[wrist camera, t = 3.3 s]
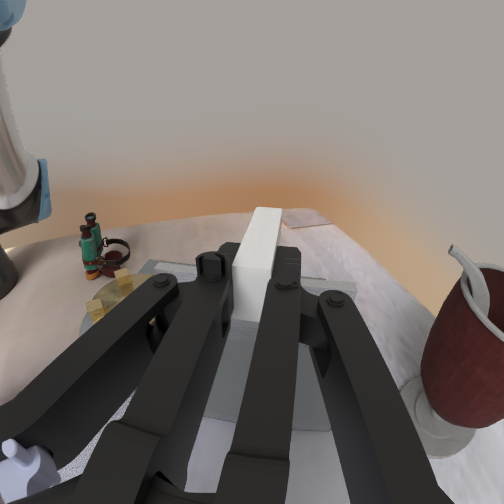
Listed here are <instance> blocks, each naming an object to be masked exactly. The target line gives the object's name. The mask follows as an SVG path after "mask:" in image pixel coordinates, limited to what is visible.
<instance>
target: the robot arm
mask: <svg viewBox="0 0 504 504" xmlns="http://www.w3.org/2000/svg"><path fill="white" fill-rule="evenodd" d="M25 4H26V0H0V235H1V234H3V233H6V232H9V231H12V230H15V229H18V228H20V227H23V226H26V225H29V224H32V223H38V222H39V221H41V220H43V219H46V218H48V217H49V216H50V215H51V211H52V209H51V200H50V192H49V182H48V171H47V161H46V159H37V160H36V158H35V156H34V155H33V154H32V153H31V152H29V151H27V150H24V148H23V145H22V141H21V138H20V135H19V132H18V129H17V125H16V122H15V118H14V115H13V111H12V107H11V103H10V98H9V94H8V90H7V85H6V80H5V75H4V69H3V62H2V55H1V49H2V48H3V46H4V45H5V44H6V42H7V41H8V39H9V38H10V36H11V32H12V26H13V25H15V24H16V23H17V22H18V21H19V20H20V18H21V17H22V14H23V12H24V8H25ZM281 222H282V209H279V208H265V207H257V208H256V209H255V212H254V214H253V216H252V219H251V221H250V224H249V226H248V228H247V231H246V233H245V235H244V238H243V240H242V242H241V243H233V242H226V243H225V244H223V245H222V246H220V248H219V250H218V251H217V252H216V251H210V252H205V253H202V254H200V255H198V256H197V257H196V268H197V277H196V279H195V280H194V281H190V282H179V283H178V281H177V278H176V276H175V275H173V274H170V273H159V274H156V275H153V276H151V277H150V278H148V279H147V280H146V281H145V282H144V283H142V284H141V285H140V286H139V287H137V288H136V289H135V290H134V291H133V292H131V293H130V294H129V295H128V296H127V297H126V298H124V299H123V300H122V301H121V302H120V303H118V304H117V305H116V306H115V307H114V308H113V309H111V310H110V311H109V312H108V313H107V314H106V315H104V316H103V317H102V318H101V319H100V320H99V321H97V322H96V323H95V324H94V325H93V326H92V327H91V328H89V329H88V330H87V331H86V332H85V333H84V334H83V335H81V336H80V337H79V338H78V339H77V340H76V341H75V342H74V343H73V344H71V345H70V346H69V347H68V348H67V349H66V350H65V351H64V352H63V353H62V354H60V355H59V356H58V357H57V358H56V359H55V360H54V361H53V362H52V363H51V364H50V365H49V366H47V367H46V368H45V369H44V370H43V371H42V372H41V373H40V374H39V375H38V376H37V377H36V378H35V379H34V380H33V381H32V382H31V383H30V384H29V385H27V386H26V387H25V388H24V389H23V390H22V391H21V392H20V393H19V394H18V395H17V396H16V397H15V398H14V399H13V400H11V401H9V402H8V403H6V404H4V405H2V406H0V493H1V496H2V498H3V501H4V503H5V504H285V498H286V491H287V484H288V477H289V467H290V461H289V450H290V441H291V432H292V422H293V412H294V401H295V390H296V377H297V363H298V348H299V342H300V343H302V344H305V345H308V346H309V352H310V355H311V359H312V362H313V365H314V369H315V372H316V376H317V379H318V383H319V386H320V390H321V393H322V397H323V400H324V404H325V407H326V411H327V414H328V418H329V422H330V425H331V429H332V433H333V436H334V440H335V444H336V448H337V451H338V455H339V459H340V463H341V467H342V471H343V475H344V478H345V482H346V486H347V490H348V494H349V498H350V503H351V504H454V502H453V501H452V500H451V499H450V498H449V497H448V496H447V495H446V494H445V493H444V491H443V490H442V489H441V488H440V487H439V486H438V484H437V481H436V478H435V476H434V473H433V470H432V468H431V465H430V462H429V460H428V457H427V455H426V452H425V450H424V447H423V445H422V442H421V440H420V437H419V435H418V433H417V430H416V428H415V426H414V423H413V421H412V419H411V416H410V414H409V412H408V410H407V407H406V405H405V403H404V401H403V399H402V396H401V394H400V392H399V390H398V388H397V386H396V384H395V382H394V379H393V377H392V375H391V373H390V371H389V369H388V367H387V365H386V363H385V361H384V359H383V357H382V355H381V353H380V351H379V349H378V347H377V345H376V343H375V341H374V339H373V337H372V335H371V333H370V332H369V330H368V328H367V326H366V324H365V322H364V320H363V318H362V316H361V315H360V313H359V311H358V309H357V307H356V305H355V304H354V302H353V300H352V298H351V297H350V296H349V295H348V294H346V293H344V292H342V291H339V290H327V291H324V292H322V293H321V294H320V296H317V295H314V294H311V293H309V292H307V291H306V290H305V289H304V288H303V287H302V286H301V282H300V280H301V252H300V251H299V249H298V248H297V247H286V246H280V237H281ZM17 279H18V272H17V269H16V267H15V264H14V263H13V262H12V260H10V258H9V257H8V255H7V254H6V252H5V251H4V249H3V248H2V247H1V245H0V299H1V298H2V297H4V296H5V295H6V294H7V293H8V292H9V291H10V290H11V289H12V288H13V286H14V285H15V283H16V281H17ZM232 312H233V319H239V320H247V321H255V322H259V327H258V331H257V336H256V340H255V345H254V350H253V354H252V359H251V363H250V368H249V372H248V377H247V381H246V386H245V390H244V394H243V399H242V403H241V407H240V412H239V416H238V420H237V424H236V429H235V433H234V437H233V441H232V445H231V448H230V451H229V452H228V453H227V455H226V458H225V461H224V464H223V468H222V472H221V476H220V480H219V484H218V487H217V491H216V493H189V492H184V488H185V485H186V481H187V466H188V462H189V459H190V455H191V452H192V449H193V446H194V443H195V440H196V436H197V433H198V430H199V427H200V424H201V420H202V417H203V414H204V411H205V408H206V405H207V401H208V398H209V395H210V392H211V389H212V385H213V382H214V379H215V376H216V373H217V370H218V366H219V363H220V360H221V357H222V354H223V350H224V347H225V344H226V341H227V338H228V334H229V331H230V328H231V315H232ZM153 318H154V321H153V322H152V323H151V324H150V323H149V322H150V321H151V320H152V319H153ZM136 388H137V389H136ZM135 389H136V391H135V393H134V395H133V397H132V399H131V401H130V403H129V405H128V407H127V409H126V411H125V413H124V415H123V417H122V418H121V419H120V420H114V421H111V422H110V423H108V424H107V426H106V427H105V429H104V430H103V432H102V434H101V436H100V438H99V440H98V442H97V444H96V446H95V448H94V450H93V453H92V455H91V457H90V459H89V461H88V463H87V465H86V467H85V469H84V472H83V474H81V475H78V476H76V477H74V478H72V479H70V480H67V481H65V482H63V483H60V482H61V477H60V475H59V473H58V472H57V471H58V470H59V469H61V468H63V467H65V466H66V465H67V464H69V463H70V462H71V461H72V460H74V459H75V458H76V457H77V456H78V455H79V454H80V453H81V452H82V451H83V449H84V448H85V447H86V446H87V445H88V444H89V442H90V441H91V440H92V439H93V438H94V437H95V435H96V434H97V433H98V432H99V431H100V430H101V429H102V427H103V426H104V425H105V424H106V423H107V422H108V420H109V419H110V418H111V417H112V416H113V415H114V413H115V412H116V411H117V410H118V409H119V408H120V407H121V405H122V404H123V403H124V402H125V401H126V400H127V398H128V397H129V396H130V395H131V394H132V393H133V391H134V390H135ZM59 483H60V484H59ZM51 485H52V486H53V487H51V488H49V487H50V486H51Z"/></svg>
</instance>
